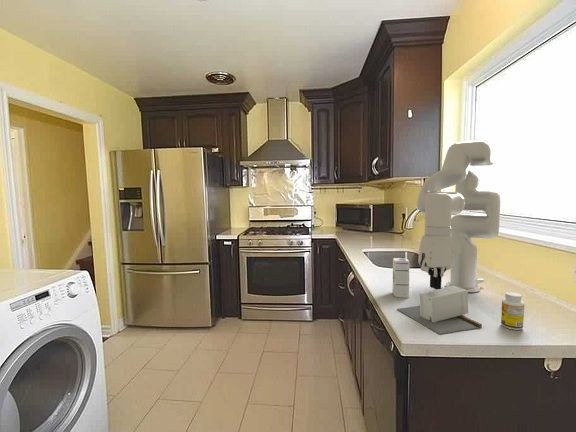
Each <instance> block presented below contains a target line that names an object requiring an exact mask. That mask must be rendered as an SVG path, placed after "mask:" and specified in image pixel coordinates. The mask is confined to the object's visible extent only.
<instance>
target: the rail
mask: <svg viewBox="0 0 576 432" xmlns="http://www.w3.org/2000/svg"><path fill="white" fill-rule="evenodd" d="M456 317H457V318H459V319H461V320H464V321H466V322H468V323H470V324H472V325H474V326H476V327H478V329H482V328H483V327H482V325H483V324H482V323H481V322H478V321H475V320H474V319H473V318H469V317H467V316H465V315H460V316H456Z"/></svg>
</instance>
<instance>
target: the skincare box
mask: <svg viewBox="0 0 576 432" xmlns="http://www.w3.org/2000/svg"><path fill="white" fill-rule="evenodd" d="M419 306H420V316H421V317H423V318H425V319H427V320H429V321H431V322H433V323H434V322H437V321H441V320H445V319H449V318H452V317H456V316H460V315H463V316H465V315H468V314H469V292H468V290H466V289H463V288H460V287H457V286H449V287H446V286H445V287H441V289H437V290H436V289H432V290H427V291H424V292H419Z"/></svg>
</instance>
